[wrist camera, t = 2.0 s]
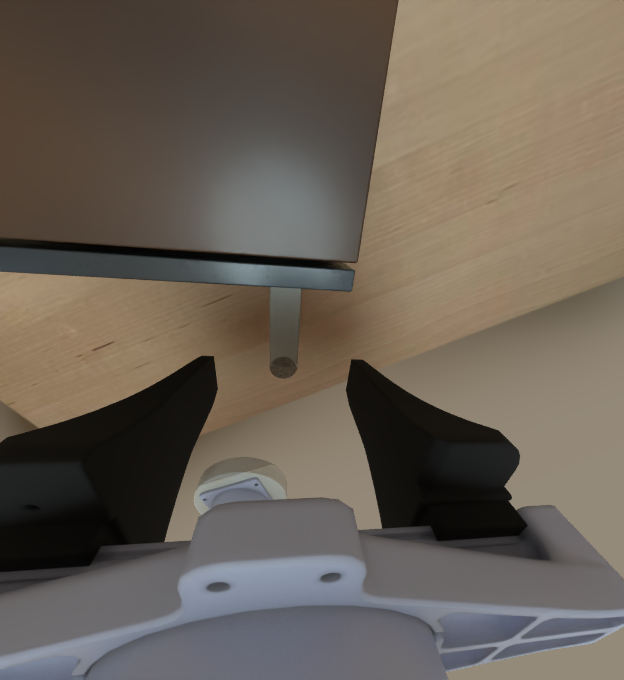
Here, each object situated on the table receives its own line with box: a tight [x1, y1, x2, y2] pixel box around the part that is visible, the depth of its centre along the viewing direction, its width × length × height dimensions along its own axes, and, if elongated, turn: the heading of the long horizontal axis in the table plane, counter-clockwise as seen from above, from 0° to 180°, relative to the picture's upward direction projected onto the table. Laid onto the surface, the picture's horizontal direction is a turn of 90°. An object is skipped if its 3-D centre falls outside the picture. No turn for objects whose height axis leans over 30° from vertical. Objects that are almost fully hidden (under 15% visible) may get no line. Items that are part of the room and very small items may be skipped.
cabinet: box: [0, 0, 398, 263], centre depth 9 cm, size 10×16×10 cm, turn 86°
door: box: [0, 238, 355, 378], centre depth 13 cm, size 6×16×9 cm, turn 86°
